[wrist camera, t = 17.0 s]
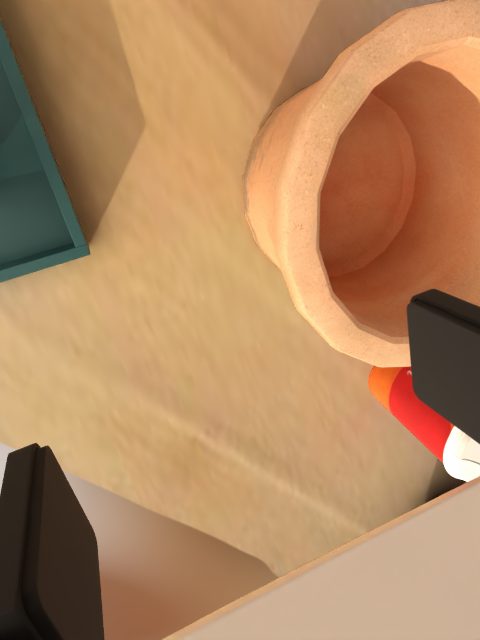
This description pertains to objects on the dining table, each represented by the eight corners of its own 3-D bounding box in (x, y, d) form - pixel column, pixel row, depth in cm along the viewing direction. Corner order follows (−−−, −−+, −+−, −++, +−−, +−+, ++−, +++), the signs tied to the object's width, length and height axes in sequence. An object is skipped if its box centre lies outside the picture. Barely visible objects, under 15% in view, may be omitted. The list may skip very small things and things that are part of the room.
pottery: (445, 46, 40) (620, 3, 27) (418, 288, 48) (543, 341, 35) (203, 42, 34) (285, -18, 21) (220, 321, 42) (286, 400, 29)
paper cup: (429, 371, 53) (539, 441, 41) (381, 418, 53) (476, 502, 41) (398, 329, 49) (508, 393, 37) (346, 380, 49) (439, 460, 37)
